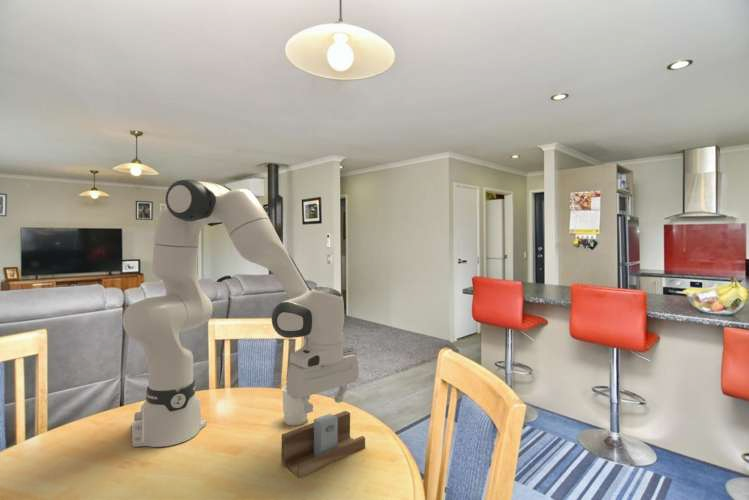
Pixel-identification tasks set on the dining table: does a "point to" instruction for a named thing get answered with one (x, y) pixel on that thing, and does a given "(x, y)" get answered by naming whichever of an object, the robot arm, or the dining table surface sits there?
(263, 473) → the dining table surface
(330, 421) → the cabinet block
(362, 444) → the cleat board
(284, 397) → the white cup
